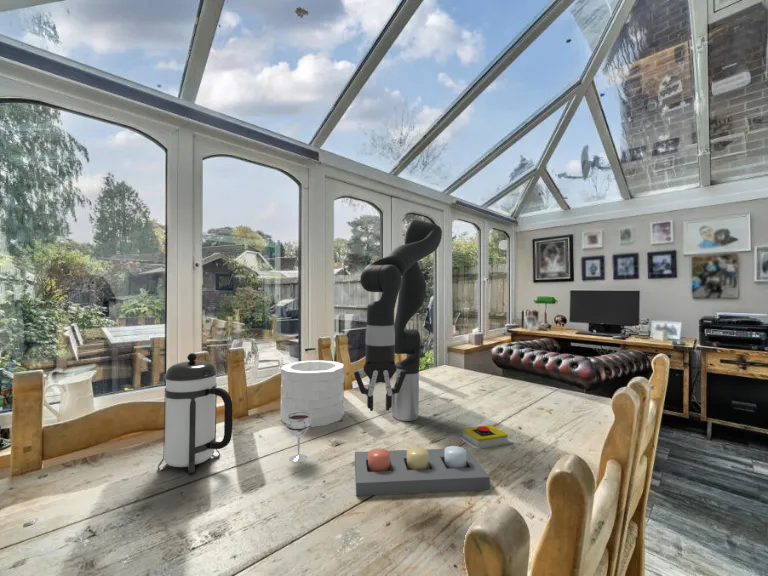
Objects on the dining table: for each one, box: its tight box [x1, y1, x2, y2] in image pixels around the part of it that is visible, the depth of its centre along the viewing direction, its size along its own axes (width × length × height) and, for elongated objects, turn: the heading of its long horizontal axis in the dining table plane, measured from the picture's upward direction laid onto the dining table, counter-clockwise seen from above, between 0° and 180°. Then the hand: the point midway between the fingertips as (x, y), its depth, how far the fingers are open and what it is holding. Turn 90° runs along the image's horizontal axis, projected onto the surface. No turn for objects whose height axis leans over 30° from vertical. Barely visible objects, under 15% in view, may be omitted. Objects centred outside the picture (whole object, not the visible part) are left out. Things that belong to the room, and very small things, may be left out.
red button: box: [367, 448, 390, 472], centre depth 90 cm, size 6×6×4 cm
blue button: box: [444, 445, 466, 469], centre depth 92 cm, size 6×6×4 cm
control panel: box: [354, 447, 490, 497], centre depth 91 cm, size 32×16×3 cm, turn 96°
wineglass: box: [286, 412, 311, 463], centre depth 100 cm, size 7×7×12 cm
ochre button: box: [406, 446, 429, 470], centre depth 91 cm, size 6×6×4 cm
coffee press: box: [157, 353, 234, 476], centre depth 96 cm, size 17×16×30 cm
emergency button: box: [459, 424, 514, 450], centre depth 114 cm, size 9×4×15 cm
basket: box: [280, 359, 345, 428], centre depth 134 cm, size 25×24×19 cm
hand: (379, 409), depth 90 cm, fingers open, 3 cm apart
